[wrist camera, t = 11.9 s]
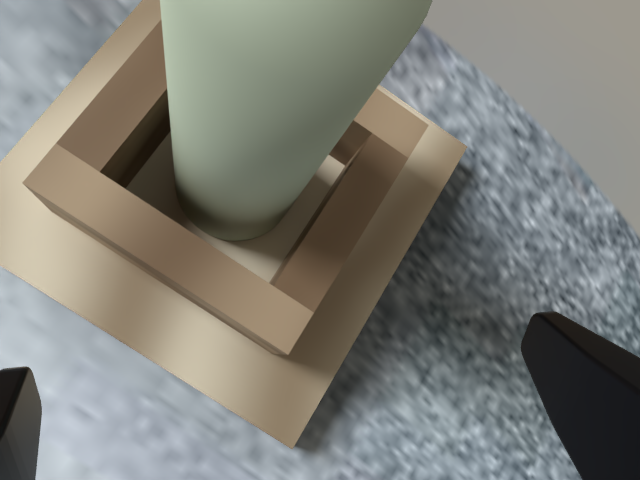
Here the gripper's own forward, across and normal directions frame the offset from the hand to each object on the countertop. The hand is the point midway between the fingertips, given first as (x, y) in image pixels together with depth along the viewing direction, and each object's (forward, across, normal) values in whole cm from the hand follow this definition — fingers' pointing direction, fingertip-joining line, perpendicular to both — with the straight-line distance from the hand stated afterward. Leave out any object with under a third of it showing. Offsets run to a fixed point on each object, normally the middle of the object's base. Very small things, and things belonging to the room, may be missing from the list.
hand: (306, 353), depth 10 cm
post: (+12, 0, +3) cm, 12 cm away
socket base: (+13, 0, +4) cm, 13 cm away
